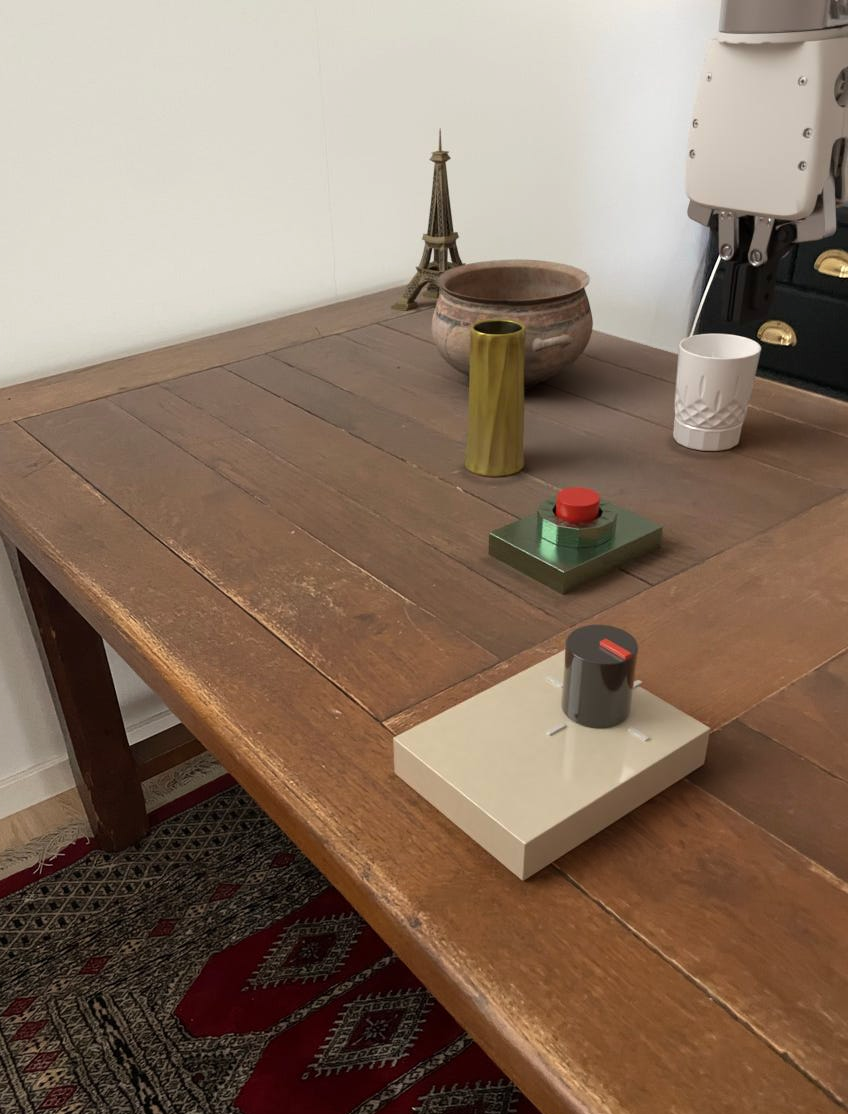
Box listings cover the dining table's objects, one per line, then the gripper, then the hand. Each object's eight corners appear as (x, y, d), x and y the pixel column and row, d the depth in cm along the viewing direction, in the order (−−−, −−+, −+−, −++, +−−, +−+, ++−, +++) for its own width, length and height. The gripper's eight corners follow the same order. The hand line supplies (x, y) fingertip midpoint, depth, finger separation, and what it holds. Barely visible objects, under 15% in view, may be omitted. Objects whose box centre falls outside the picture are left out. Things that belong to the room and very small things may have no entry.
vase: (500, 483, 101) (505, 340, 94) (452, 467, 105) (452, 328, 97) (535, 462, 105) (543, 323, 97) (488, 448, 109) (491, 313, 101)
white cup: (655, 444, 108) (667, 351, 102) (683, 419, 113) (695, 329, 107) (730, 460, 104) (746, 363, 98) (755, 433, 109) (771, 340, 103)
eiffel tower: (489, 300, 154) (494, 115, 140) (449, 318, 147) (449, 126, 133) (432, 290, 160) (431, 112, 146) (391, 308, 153) (385, 122, 139)
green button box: (584, 513, 95) (587, 473, 93) (660, 548, 89) (665, 507, 87) (488, 554, 90) (489, 513, 87) (562, 595, 84) (565, 552, 81)
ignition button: (576, 501, 90) (577, 483, 89) (607, 515, 87) (609, 497, 86) (546, 514, 88) (547, 495, 87) (577, 528, 85) (579, 510, 84)
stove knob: (546, 704, 67) (551, 636, 64) (594, 679, 69) (601, 612, 66) (596, 737, 64) (603, 668, 61) (644, 710, 66) (654, 642, 63)
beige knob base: (571, 678, 74) (574, 642, 72) (707, 762, 66) (714, 724, 64) (393, 773, 66) (392, 735, 65) (522, 881, 58) (525, 842, 56)
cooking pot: (400, 361, 133) (398, 264, 126) (532, 340, 137) (536, 245, 131) (481, 429, 113) (483, 318, 106) (631, 402, 118) (643, 294, 111)
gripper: (943, 2, 57) (875, 328, 68) (723, 5, 68) (694, 287, 78) (864, 15, 54) (805, 356, 64) (646, 16, 64) (625, 310, 75)
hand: (744, 318), depth 71 cm, fingers closed
